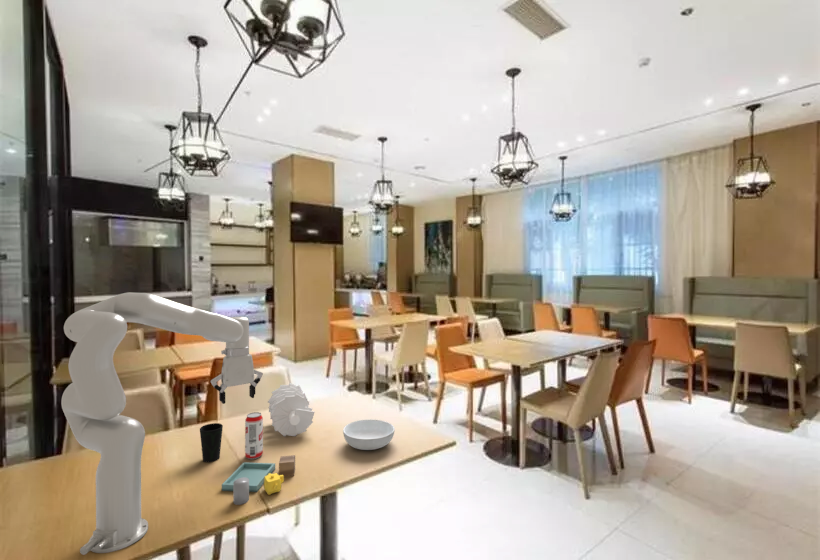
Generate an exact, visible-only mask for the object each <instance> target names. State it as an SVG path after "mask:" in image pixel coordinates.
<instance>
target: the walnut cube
mask: <svg viewBox="0 0 820 560" xmlns="http://www.w3.org/2000/svg"><path fill="white" fill-rule="evenodd" d="M295 472H296V454H295V455H294V454H292V455H281V456H280V458H279V461H278V475H283V476H284V478H285V477H286V478H287V477H294V476H295Z"/></svg>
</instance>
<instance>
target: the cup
mask: <svg viewBox="0 0 820 560" xmlns="http://www.w3.org/2000/svg"><path fill="white" fill-rule="evenodd" d="M223 426H224V425H223V424H222V423H217V422H214V423H208V424H204V425H203V426H201V427H200V428H199V434H200V437H199V438H200V443H201V454H202V462H203V463H213V462H216V461H218V460H219V459H220V457H221V445H222V436H223Z"/></svg>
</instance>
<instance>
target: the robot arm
mask: <svg viewBox="0 0 820 560" xmlns="http://www.w3.org/2000/svg"><path fill="white" fill-rule="evenodd" d="M127 323H134V324H135V323H136V324H142V325H145V326H148V327H149V326H150V327H153V328H157V329H162V330H165V331H167V332H168V331H169V332H173V333H177V334H181V335H189V336H201V337H203V339H204V340H207V341H211V342H220V343H221V342H222V343H225V348H224V349H223V350H221V355H224V357H223V359H222V364H221V365H222V367H221V373H220V374H219V375H217V376H216V377H214V378H212V379H211V380H210V383H211V385H212V386H213V389H215V390H217V391H218V394H219V397H218V398H219V402H221V404H226V392H225V390H226V389H227V388H230V387H235V386H242V385H247V384H250V385H249V386H248V387H249V390H248V391H249V392H248V393H249V394H248V395H249V397H250V398H251V399H254V398H255V395H256V387H257V385H258V384H259V383H260V381H261V379H262V377H263V374H264V373H263V372H262V371H260V370H256V369H254V360H253V355H252V354H251V353H250V320H249V319H248V317H246V316H231V317H230V316H229V317H228V316H226V315H223V314H219V313H214V312H212V311H211V312H210V311H207V310H204V309H202V308H201V309H200V308H196V307H194V306H189V305H186V304H183V303H180V302H177V301H174V300H171V299H168V298H164V297H161V296H159V295H156V294H154V293H152V294H151V293H146V292H129V291H127V292H124V293H119V294H117V295H115V296H111V297H109V298H107V299H104V300H102V301H100V302H96V303H95V304H92V305H90V306H89V305H88V306H87V307H84V308H81V309H79V310H77V311H76V312H75V311H74V313H72V314H70V315H69V316H68V317H67V319H66V320H65V322H64V325H63V332H64V334H65V336H66V337H67V338H68V339H69V340H70V341H73V342H75V343H76V344H75V346H74V347H73V350H72V351H71V354H70V356H69V359H68V360H69V361H68V373H69V376H70V379H71V383H70V384H68V386H67V387H66V388H65V389H64V391H63V393H62V396H61V409H62V411H63V413H64V416H65V419H66V421H67V423H68V426H69V428H70V429H71V432H72V434H73V436H74V438H75V440H76V441H77V442H78V444H79V445H80V446H82V447H83V448H85V449H87V450H90V451H94V452H96V453H99V455H100V460H99V462H98V464H97V467H96V472H95V523H96V524H95V530H93V531H92V535H91V536H90V538H89V539H88V542H86V543H85V544H84V545H82V546H81V547H80V549H79V552H80V554H81V555H83V556H85V555H87V554H88V553H89V552H92V553H96V554H106V553H113V552H116V551H119V550H123V549H125V548H127V547H129V546H131V545H133V544H135V543H136V542H138V541H139V540H141V539H142V538H143V537H144V536H145V535H146V533H147V532H148V530H149V522H148V521H147V520H146V519H144V518H142V453H143V447H144V443H145V437H146V431H145V428H144V426H143V424H142V423H141V422H140V421H139V420H137V419H135V418H133V417H129V416H126V415H121V414H122V412H123V411H124V409H125V408H126V405H127V397H126V393H125V390H124V388H123V386H122V383H121V380H120V378H119V375H118V373H117V371H116V368H115V364H114V363H115V362H114V355H115V352H116V350H117V348H118V346H119V345H120V344H121V342H122V341H123V339H124V338H125V337H126V334H127V332H128V324H127ZM255 375H256V378H255ZM218 381H221V384H220V386H219V385H218Z"/></svg>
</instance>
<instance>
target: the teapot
mask: <svg viewBox="0 0 820 560" xmlns="http://www.w3.org/2000/svg"><path fill="white" fill-rule="evenodd" d="M284 481H285V477H284V476H283V475H279V473H277V472H275V473H274V472H273V473H272V474H271V473H269V474H268V475H267V476H265V477H264V484H263V488H264V491H265V492H266V493H267V495H268V496H271V495H272V494H275V493H279V492H280V491H281V490H282V484H283V483H284Z"/></svg>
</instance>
